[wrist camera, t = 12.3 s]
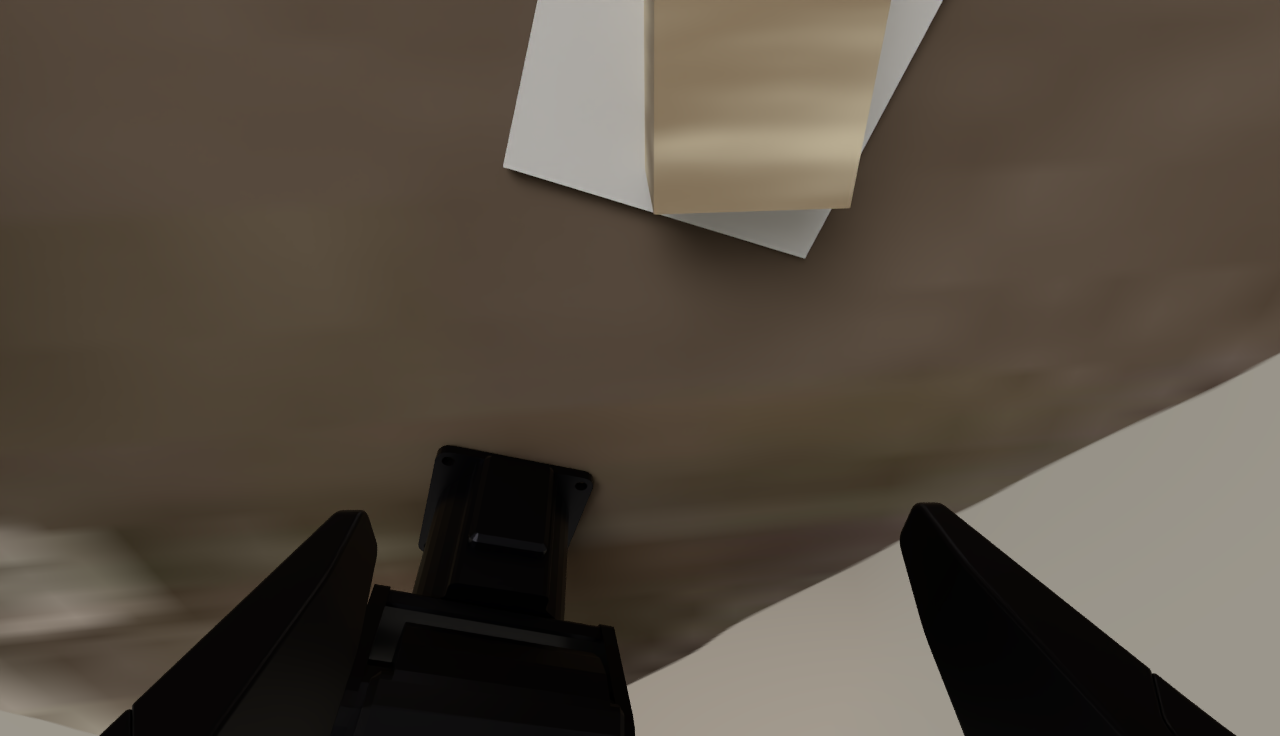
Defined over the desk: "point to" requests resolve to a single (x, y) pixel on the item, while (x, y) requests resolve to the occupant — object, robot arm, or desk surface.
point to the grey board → (615, 114)
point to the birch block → (757, 101)
